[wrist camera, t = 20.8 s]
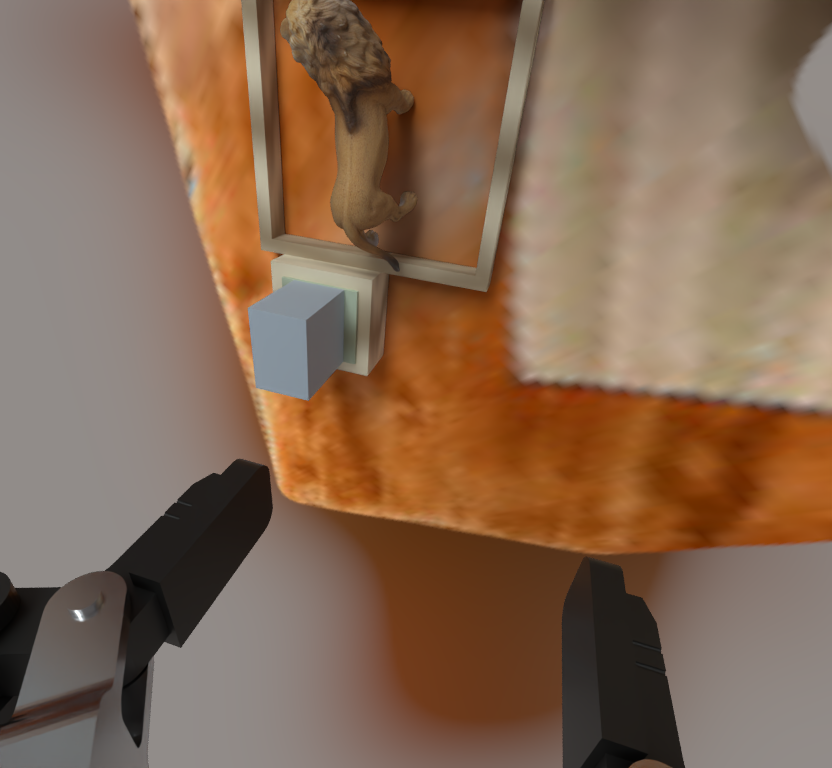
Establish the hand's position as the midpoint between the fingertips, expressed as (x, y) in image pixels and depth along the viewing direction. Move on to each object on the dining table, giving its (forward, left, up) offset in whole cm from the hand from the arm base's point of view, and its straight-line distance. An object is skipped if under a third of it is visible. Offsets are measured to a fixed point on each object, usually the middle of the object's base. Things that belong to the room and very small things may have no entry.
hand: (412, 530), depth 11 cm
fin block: (+6, -13, -22) cm, 26 cm away
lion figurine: (-6, -10, -26) cm, 28 cm away
